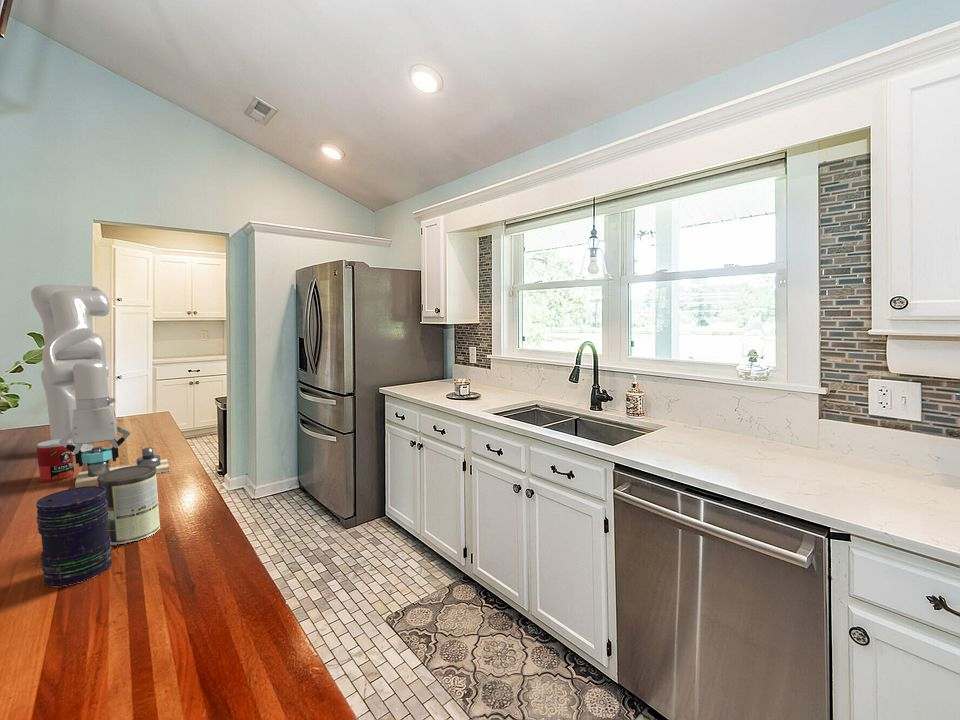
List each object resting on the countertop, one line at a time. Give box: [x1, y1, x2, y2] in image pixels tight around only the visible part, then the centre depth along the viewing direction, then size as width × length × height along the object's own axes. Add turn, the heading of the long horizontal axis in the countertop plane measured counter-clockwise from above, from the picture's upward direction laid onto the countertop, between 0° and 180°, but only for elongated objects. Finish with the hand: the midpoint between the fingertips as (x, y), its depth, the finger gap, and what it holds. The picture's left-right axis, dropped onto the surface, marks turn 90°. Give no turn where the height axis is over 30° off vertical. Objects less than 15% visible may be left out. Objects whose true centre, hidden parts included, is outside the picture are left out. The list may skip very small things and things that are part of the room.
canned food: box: [36, 439, 75, 483], centre depth 137 cm, size 8×8×11 cm
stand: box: [86, 446, 111, 477], centre depth 136 cm, size 5×5×8 cm
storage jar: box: [35, 485, 113, 587], centre depth 86 cm, size 10×10×15 cm
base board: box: [74, 458, 170, 488], centre depth 140 cm, size 11×22×2 cm, turn 127°
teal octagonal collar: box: [81, 447, 113, 464], centre depth 136 cm, size 7×7×2 cm
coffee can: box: [97, 465, 161, 546], centre depth 101 cm, size 10×10×14 cm
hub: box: [135, 447, 161, 467], centre depth 143 cm, size 6×6×6 cm
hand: (98, 462), depth 136 cm, fingers closed on teal octagonal collar, 7 cm apart
